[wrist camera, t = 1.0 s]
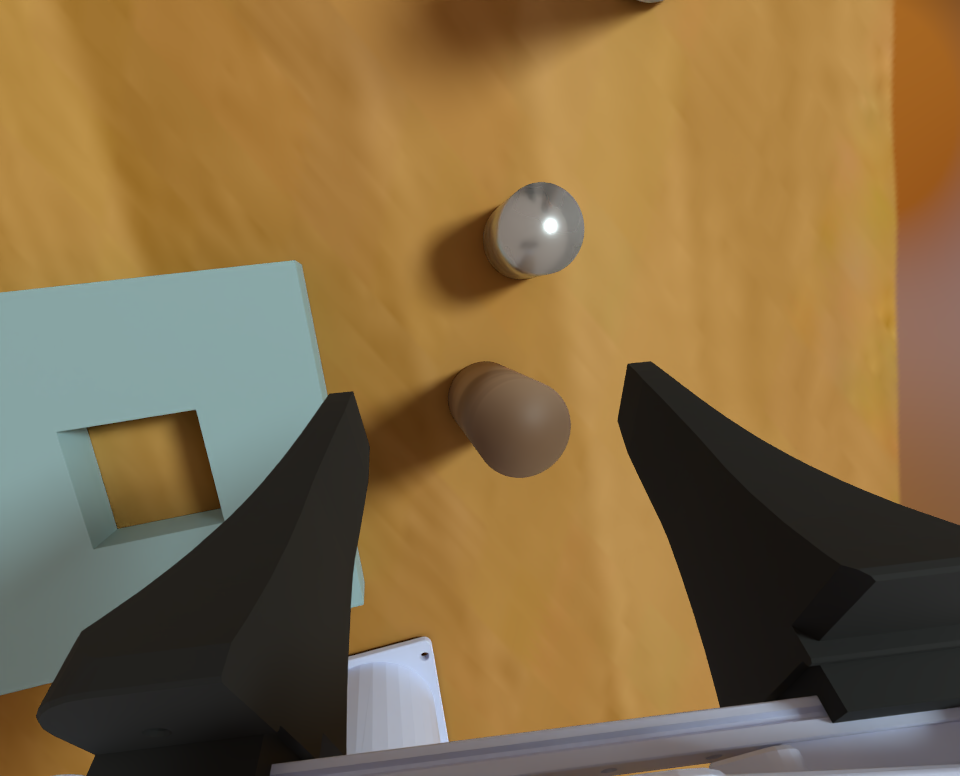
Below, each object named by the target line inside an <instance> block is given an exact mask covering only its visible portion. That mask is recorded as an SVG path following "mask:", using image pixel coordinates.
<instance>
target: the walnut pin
mask: <svg viewBox="0 0 960 776" xmlns="http://www.w3.org/2000/svg"><path fill="white" fill-rule="evenodd" d="M448 405H449V409H450V412H451V414H452V416H453V418H454V419H455V421H456V422H457V424H458V425H459V426H460V428H461V429H462V431H463V432H464V433H465V435H466V436H467V437H468V439H469V440H470V442H471V443H472V444H473V446H474V447H475V448H476V450H477V451H478V453H479V454H480V455H481V457H482V458H483V460H484V461H485V462H486V463H487V464H488V465H489V466H490V467H491V468H492V469H493V470H495V471H497V472H498V473H500V474H503V475H505V476H509V477H516V478H524V477H530V476H533V475H536V474H539V473H541V472H543V471H545V470H546V469H548V468H549V467H551V466H552V465H553V464H554V463H555V462H556V461H557V460H558V459H559V457H560V456H561V455H562V453H563V452H564V450H565V448H566V446H567V443H568V440H569V436H570V429H571V423H570V415H569V412H568V408H567V406H566V404H565V402H564V401H563V399H562V398H561V396H560V395H559V394H558V393H557V392H556V391H555V390H554V389H552V388H551V387H549V386H547V385H545V384H543V383H541V382H539V381H536V380H534V379H532V378H529V377H527V376H525V375H522V374H520V373H518V372H516V371H513V370H511V369H509V368H506V367H504V366H502V365H500V364H497V363H494V362H485V361H484V362H477V363H474V364H471V365H469V366H467V367H465V368H464V369H463V370H461V371H460V372H459V373H458V374H457V376H456V377H455V378H454V380H453V382H452V384H451V386H450V389H449V394H448Z"/></svg>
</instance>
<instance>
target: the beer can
mask: <svg viewBox="0 0 960 776" xmlns="http://www.w3.org/2000/svg"><path fill="white" fill-rule="evenodd" d="M638 1H642V2H646V3H653V2H660V1H663V0H638Z"/></svg>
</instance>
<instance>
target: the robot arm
mask: <svg viewBox="0 0 960 776" xmlns="http://www.w3.org/2000/svg"><path fill="white" fill-rule="evenodd" d="M618 424H619V427H620V430H621V434H622V437H623V440H624V443H625V446H626V449H627V452H628V454H629V457H630V459H631V461H632V463H633V465H634V467H635V469H636V472H637V474H638V476H639V478H640V480H641V482H642V484H643V486H644V488H645V490H646V492H647V494H648V496H649V499H650V501H651V503H652V505H653V507H654V509H655V511H656V513H657V515H658V517H659V519H660V521H661V523H662V526H663V528H664V530H665V533H666V535H667V537H668V540H669V543H670V545H671V548H672V551H673V554H674V557H675V559H676V562H677V565H678V568H679V571H680V573H681V576H682V579H683V582H684V586H685V589H686V592H687V595H688V598H689V601H690V604H691V607H692V610H693V613H694V616H695V620H696V623H697V626H698V630H699V633H700V636H701V639H702V643H703V646H704V649H705V653H706V656H707V660H708V664H709V667H710V671H711V675H712V678H713V682H714V686H715V689H716V693H717V697H718V701H719V705H720V708H714V709H706V710H698V711H690V712H682V713H674V714H666V715H658V716H650V717H642V718H634V719H626V720H619V721H611V722H603V723H595V724H587V725H579V726H571V727H563V728H555V729H547V730H539V731H531V732H523V733H516V734H508V735H500V736H492V737H484V738H476V739H468V740H460V741H452V742H449V741H448V735H447V729H446V724H445V718H444V712H443V706H442V700H441V695H440V689H439V683H438V677H437V671H436V666H435V660H434V654H433V648H432V642H431V640H430V639H429V638H428V637H420V638H416V639H412V640H409V641H405V642H401V643H397V644H394V645H390V646H386V647H383V648H379V649H375V650H371V651H368V652H364V653H360V654H357V655H353V656H349V657H348V654H349V633H350V613H351V598H352V583H353V572H354V564H355V556H356V551H357V545H358V539H359V533H360V527H361V522H362V516H363V510H364V504H365V498H366V492H367V486H368V476H369V450H370V446H369V443H368V439H367V436H366V433H365V429H364V426H363V423H362V419H361V416H360V413H359V409H358V406H357V403H356V399H355V396H354V393H353V392H343V393H333V394H329V395H328V396H327V397H326V399H325V400H324V402H323V403H322V404H321V406H320V407H319V409H318V410H317V412H316V413H315V414H314V416H313V417H312V419H311V420H310V422H309V423H308V424H307V426H306V427H305V429H304V430H303V431H302V433H301V434H300V435H299V437H298V438H297V439H296V441H295V442H294V443H293V445H292V446H291V447H290V449H289V450H288V451H287V453H286V454H285V455H284V457H283V458H282V459H281V460H280V462H279V463H278V464H277V465H276V466H275V468H274V469H273V470H272V471H271V472H270V474H269V475H268V476H267V477H266V478H265V480H264V481H263V482H262V483H261V484H260V485H259V486H258V488H257V489H256V490H255V491H254V492H253V493H252V494H251V495H250V496H249V497H248V498H247V499H246V501H245V502H244V503H243V504H242V505H241V506H240V507H239V508H238V509H237V510H236V511H235V512H234V513H233V514H232V515H231V516H230V517H229V518H228V519H226V520H225V521H224V522H223V523H222V524H221V525H220V526H219V527H218V528H216V529H215V530H214V531H213V532H212V533H211V534H210V535H209V536H207V537H206V538H205V539H204V540H203V541H202V542H201V543H200V544H199V545H197V546H196V547H195V548H194V549H193V550H192V551H190V552H189V553H188V554H187V555H186V556H184V557H183V558H182V559H181V560H179V561H178V562H177V563H176V564H174V565H173V566H172V567H171V568H169V569H168V570H167V571H166V572H164V573H163V574H162V575H160V576H159V577H158V578H156V579H155V580H154V581H153V582H151V583H150V584H149V585H147V586H146V587H145V588H143V589H142V590H140V591H139V592H138V593H136V594H135V595H133V596H132V597H131V598H129V599H128V600H126V601H125V602H123V603H122V604H120V605H119V606H118V607H116V608H115V609H113V610H112V611H110V612H109V613H107V614H106V615H105V616H103V617H102V618H100V619H99V620H97V621H96V622H94V623H93V624H91V625H90V626H88V627H87V628H85V629H84V630H82V631H81V633H80V635H79V636H78V638H77V640H76V641H75V643H74V645H73V647H72V648H71V650H70V652H69V654H68V655H67V657H66V659H65V661H64V663H63V665H62V666H61V668H60V670H59V672H58V674H57V676H56V677H55V679H54V681H53V683H52V685H51V687H50V688H49V690H48V692H47V694H46V696H45V697H44V699H43V701H42V703H41V705H40V707H39V708H38V711H37V715H36V718H37V720H38V722H39V723H40V725H41V726H42V728H43V729H44V730H46V731H47V732H49V733H50V734H52V735H54V736H56V737H58V738H60V739H62V740H64V741H67V742H69V743H71V744H73V745H75V746H77V747H79V748H82V749H84V750H86V751H88V752H90V753H92V754H95V757H94V760H93V762H92V764H91V766H90V769H89V771H88V773H87V776H613V775H621V774H629V773H636V772H644V771H652V770H659V769H667V768H675V767H682V766H690V765H698V764H706V763H711V764H710V766H709V769H708V768H691V769H676V770H668V771H661V772H653V773H645V774H638V775H630V776H960V525H957V524H954V523H951V522H948V521H945V520H942V519H939V518H937V517H934V516H931V515H928V514H925V513H922V512H919V511H916V510H913V509H911V508H908V507H905V506H902V505H900V504H897V503H894V502H892V501H889V500H887V499H884V498H882V497H879V496H877V495H874V494H872V493H869V492H867V491H864V490H862V489H860V488H857V487H855V486H853V485H850V484H848V483H846V482H843V481H841V480H839V479H837V478H835V477H833V476H830V475H828V474H826V473H824V472H822V471H820V470H818V469H816V468H814V467H811V466H809V465H807V464H805V463H803V462H801V461H800V460H798V459H796V458H794V457H792V456H790V455H788V454H786V453H785V452H783V451H781V450H779V449H777V448H776V447H774V446H772V445H770V444H768V443H767V442H765V441H763V440H761V439H760V438H758V437H756V436H755V435H753V434H752V433H750V432H748V431H747V430H745V429H744V428H742V427H741V426H739V425H738V424H736V423H734V422H733V421H731V420H730V419H728V418H727V417H725V416H724V415H723V414H721V413H720V412H718V411H717V410H715V409H714V408H712V407H711V406H710V405H708V404H707V403H706V402H704V401H703V400H701V399H700V398H699V397H697V396H696V395H695V394H693V393H692V392H691V391H689V390H688V389H687V388H685V387H684V386H683V385H681V384H680V383H679V382H677V381H676V380H675V379H674V378H672V377H671V376H670V375H668V374H667V373H666V372H664V371H663V370H662V369H660V368H659V367H658V366H656V365H655V364H653V363H652V362H651V361H650V362H640V363H630V364H628V365H627V370H626V376H625V381H624V387H623V393H622V398H621V404H620V409H619V415H618ZM424 652H427V653H428V654H427V655H425V656H422V655H421V654H422V653H424ZM54 776H84V775H74V774H66V775H54Z"/></svg>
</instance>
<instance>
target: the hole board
mask: <svg viewBox="0 0 960 776" xmlns="http://www.w3.org/2000/svg"><path fill="white" fill-rule="evenodd" d="M327 396H328V395H327V390H326V385H325V380H324V375H323V370H322V365H321V360H320V355H319V350H318V345H317V340H316V335H315V330H314V325H313V319H312V314H311V309H310V304H309V299H308V294H307V289H306V284H305V279H304V274H303V269H302V265H301V264H300V263H298V262H297V261H295V260H293V261H284V262H275V263H266V264H257V265H248V266H239V267H230V268H221V269H212V270H203V271H193V272H184V273H175V274H166V275H157V276H148V277H139V278H130V279H121V280H112V281H103V282H94V283H84V284H75V285H66V286H57V287H48V288H39V289H30V290H21V291H12V292H3V293H0V695H4V694H8V693H12V692H16V691H20V690H24V689H28V688H32V687H36V686H40V685H44V684H48V683H52V682H53V681H54V679H55V677H56V676H57V674H58V672H59V670H60V668H61V666H62V665H63V663H64V661H65V659H66V657H67V655H68V654H69V652H70V650H71V648H72V647H73V645H74V643H75V641H76V640H77V638H78V636H79V635H80V633H81V631H82V630H84V629H85V628H87V627H88V626H90V625H91V624H93V623H94V622H96V621H97V620H99V619H100V618H102V617H103V616H105V615H106V614H107V613H109V612H110V611H112V610H113V609H115V608H116V607H118V606H119V605H120V604H122V603H123V602H125V601H126V600H128V599H129V598H131V597H132V596H133V595H135V594H136V593H138V592H139V591H140V590H142V589H143V588H145V587H146V586H147V585H149V584H150V583H151V582H153V581H154V580H155V579H156V578H158V577H159V576H160V575H162V574H163V573H164V572H166V571H167V570H168V569H169V568H171V567H172V566H173V565H174V564H176V563H177V562H178V561H179V560H181V559H182V558H183V557H184V556H186V555H187V554H188V553H189V552H190V551H192V550H193V549H194V548H195V547H196V546H197V545H199V544H200V543H201V542H202V541H203V540H204V539H205V538H206V537H207V536H209V535H210V534H211V533H212V532H213V531H214V530H215V529H216V528H218V527H219V526H220V525H221V524H222V523H223V522H224V521H225V520H226V519H228V518H229V517H230V516H231V515H232V514H233V513H234V512H235V511H236V510H237V509H238V508H239V507H240V506H241V505H242V504H243V503H244V502H245V501H246V499H247V498H248V497H249V496H250V495H251V494H252V493H253V492H254V491H255V490H256V489H257V488H258V486H259V485H260V484H261V483H262V482H263V481H264V480H265V478H266V477H267V476H268V475H269V474H270V472H271V471H272V470H273V469H274V468H275V466H276V465H277V464H278V463H279V462H280V460H281V459H282V458H283V457H284V455H285V454H286V453H287V451H288V450H289V449H290V447H291V446H292V445H293V443H294V442H295V441H296V439H297V438H298V437H299V435H300V434H301V433H302V431H303V430H304V429H305V427H306V426H307V424H308V423H309V422H310V420H311V419H312V417H313V416H314V414H315V413H316V412H317V410H318V409H319V407H320V406H321V404H322V403H323V402H324V400H325V399H326V397H327ZM190 410H196V411H197V415H198V419H199V423H200V427H201V431H202V435H203V439H204V443H205V447H206V451H207V455H208V458H209V462H210V466H211V470H212V474H213V478H214V482H215V486H216V490H217V494H218V498H219V502H220V506H221V508H220V509H215V510H210V511H205V512H200V513H195V514H190V515H185V516H180V517H175V518H170V519H165V520H160V521H155V522H150V523H145V524H140V525H135V526H130V527H125V528H120V529H117V526H116V523H115V520H114V516H113V513H112V510H111V506H110V503H109V500H108V496H107V493H106V490H105V487H104V483H103V480H102V477H101V473H100V470H99V467H98V463H97V460H96V457H95V454H94V450H93V447H92V444H91V440H90V437H89V434H88V430H87V427H91V426H97V425H103V424H110V423H116V422H122V421H128V420H134V419H140V418H147V417H153V416H159V415H165V414H171V413H178V412H184V411H190ZM364 583H365V582H364V577H363V572H362V567H361V562H360V557H359V552H358V547H357V551H356V556H355V564H354V572H353V583H352V598H351V608H352V607H356V606H360V605H364Z"/></svg>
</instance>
